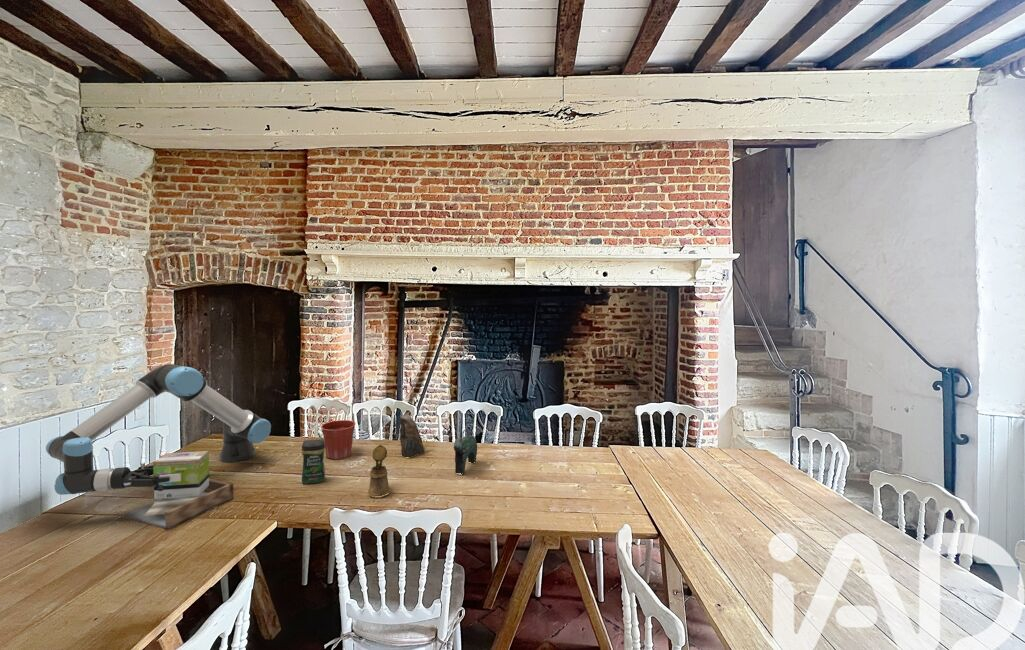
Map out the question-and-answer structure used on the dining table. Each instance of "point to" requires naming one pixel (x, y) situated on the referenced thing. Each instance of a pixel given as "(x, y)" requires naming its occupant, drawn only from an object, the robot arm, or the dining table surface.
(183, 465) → the tea box
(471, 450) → the ceramic cat
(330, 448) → the flower pot
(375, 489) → the brown bell
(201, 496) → the wooden tray
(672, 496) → the dining table surface
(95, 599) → the dining table surface
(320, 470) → the coffee jar
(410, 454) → the owl
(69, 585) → the dining table surface
